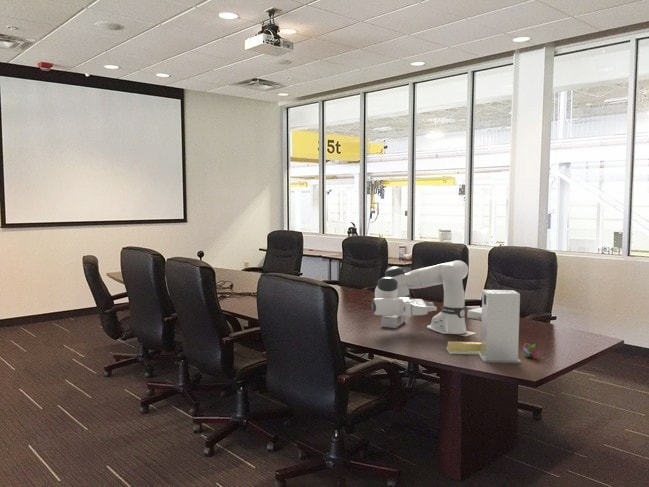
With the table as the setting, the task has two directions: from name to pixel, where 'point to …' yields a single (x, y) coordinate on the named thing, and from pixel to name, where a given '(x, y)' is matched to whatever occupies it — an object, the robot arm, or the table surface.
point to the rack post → (500, 326)
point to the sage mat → (463, 352)
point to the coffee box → (392, 321)
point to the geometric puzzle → (530, 350)
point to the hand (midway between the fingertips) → (435, 306)
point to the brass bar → (464, 346)
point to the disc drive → (475, 313)
